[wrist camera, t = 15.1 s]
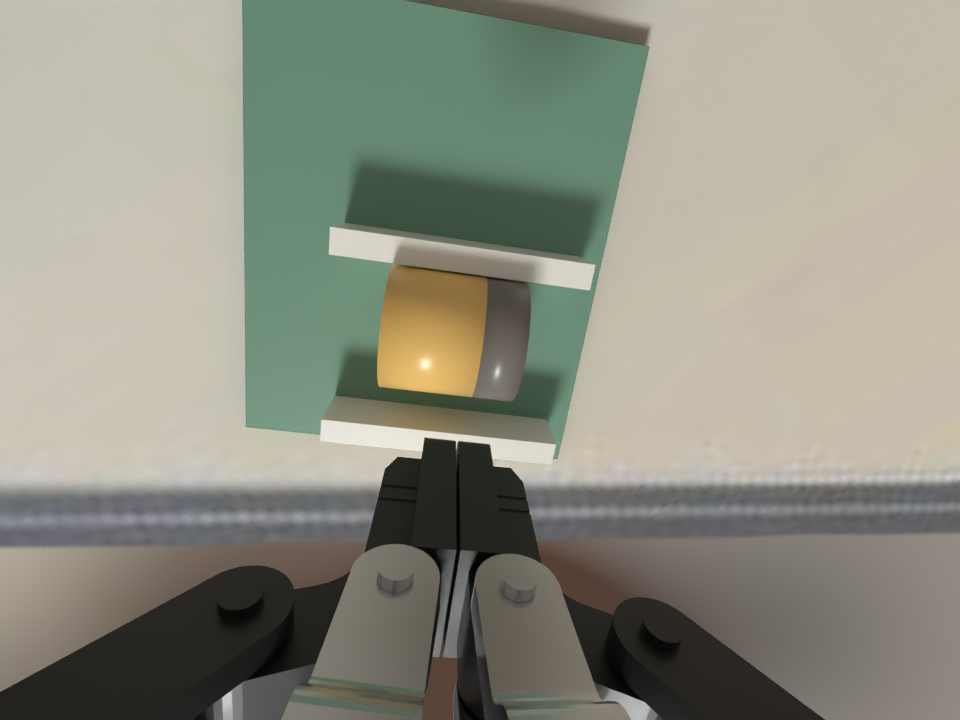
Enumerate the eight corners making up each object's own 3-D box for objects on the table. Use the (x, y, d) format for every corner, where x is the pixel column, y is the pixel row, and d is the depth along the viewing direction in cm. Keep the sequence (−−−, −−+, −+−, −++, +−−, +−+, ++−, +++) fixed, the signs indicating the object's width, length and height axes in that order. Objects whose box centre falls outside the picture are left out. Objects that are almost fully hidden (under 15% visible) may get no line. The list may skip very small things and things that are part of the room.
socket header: (344, 222, 20) (330, 226, 18) (579, 256, 21) (595, 265, 19) (333, 415, 23) (320, 441, 20) (541, 437, 24) (551, 464, 21)
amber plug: (398, 279, 22) (389, 249, 17) (513, 294, 22) (536, 269, 17) (385, 386, 21) (372, 387, 17) (502, 399, 22) (522, 403, 17)
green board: (250, -22, 18) (242, -31, 17) (641, 52, 19) (649, 46, 19) (252, 419, 24) (245, 427, 23) (554, 451, 25) (557, 459, 24)
